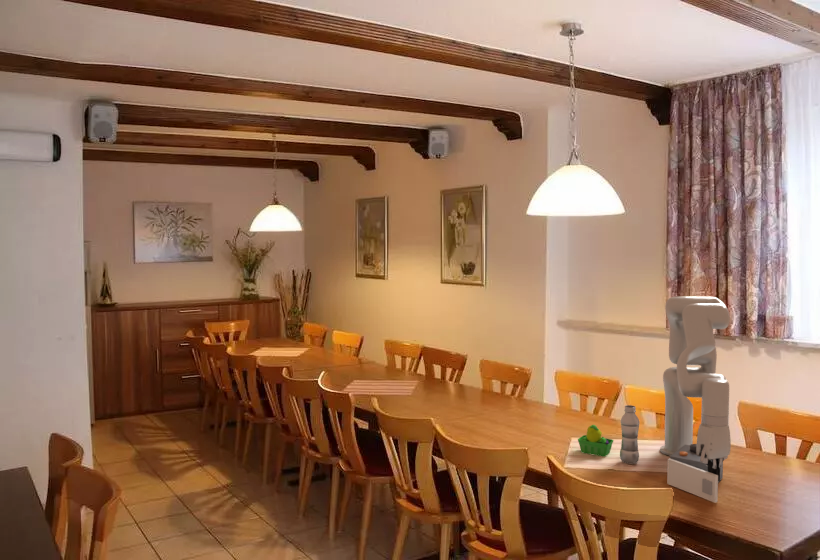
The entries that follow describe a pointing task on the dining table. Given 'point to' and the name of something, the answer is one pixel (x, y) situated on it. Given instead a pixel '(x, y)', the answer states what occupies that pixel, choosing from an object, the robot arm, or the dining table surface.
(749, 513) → the dining table surface
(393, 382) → the dining table surface
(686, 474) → the door
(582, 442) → the fruit basket
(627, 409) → the plastic bottle
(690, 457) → the grey block
